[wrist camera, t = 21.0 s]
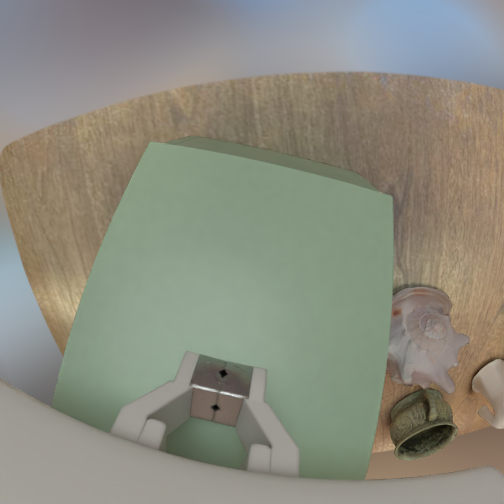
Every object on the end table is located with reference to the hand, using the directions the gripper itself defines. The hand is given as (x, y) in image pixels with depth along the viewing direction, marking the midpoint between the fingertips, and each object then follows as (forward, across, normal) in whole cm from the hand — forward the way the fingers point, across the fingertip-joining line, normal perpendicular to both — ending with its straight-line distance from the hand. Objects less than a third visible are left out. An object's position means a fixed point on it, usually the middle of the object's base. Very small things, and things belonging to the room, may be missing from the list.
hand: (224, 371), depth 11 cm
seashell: (+17, -18, +8) cm, 26 cm away
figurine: (+17, -35, +13) cm, 41 cm away
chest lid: (+3, 0, -1) cm, 3 cm away
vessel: (+17, -26, +20) cm, 37 cm away
